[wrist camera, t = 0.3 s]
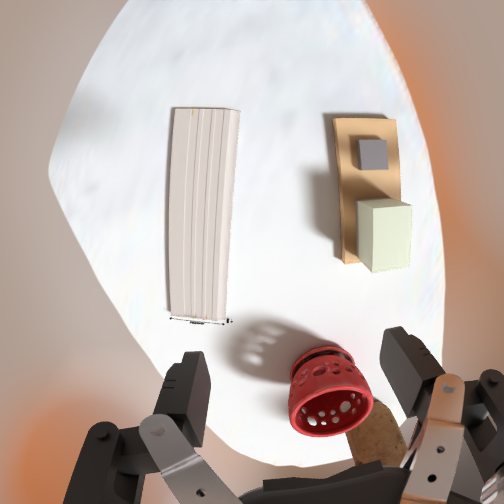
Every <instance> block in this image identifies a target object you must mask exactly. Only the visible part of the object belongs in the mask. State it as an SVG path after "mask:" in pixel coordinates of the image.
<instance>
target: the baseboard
mask: <svg viewBox="0 0 504 504" xmlns="http://www.w3.org/2000/svg"><path fill="white" fill-rule="evenodd" d="M240 112H241V111H235V110H227V109H175V115H174V125H173V137H172V151H171V167H170V189H169V284H170V306H171V316H177V317H188V318H194V319H195V318H197V319H203V320H205V319H206V320H213V321H218V320H221V319H224V320H225V319H227V318H226V300H227V282H228V266H229V250H230V235H231V220H232V207H233V193H234V181H235V168H236V156H237V145H238V134H239V123H240ZM170 319H173V318H172V317H171V318H170ZM178 320H181V319H178ZM186 321H189V320H186ZM230 322H232V321H230ZM190 323H191V321H190ZM196 323H197V324H201V323H199V322H198V321H195V323H194V322H192V324H196ZM204 323H208V322H204ZM204 323H203V324H204ZM227 323H229V319H227ZM214 324H218V323H214ZM223 325H225V324H224V323H223Z"/></svg>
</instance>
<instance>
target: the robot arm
mask: <svg viewBox="0 0 504 504" xmlns="http://www.w3.org/2000/svg"><path fill="white" fill-rule="evenodd" d="M380 365H381V368H382V370H383V372H384V374H385V376H386V377H387V379H388V381H389V383H390V385H391V387H392V389H393V391H394V393H395V395H396V397H397V399H398V401H399V403H400V405H401V407H402V409H403V411H404V413H405V415H406V417H407V418H411V417H414V416H417V418H418V421H417V423H416V426H415V429H414V432H413V435H412V438H411V441H410V444H409V447H408V449H407V452H406V454H405V457H404V459H403V461H402V463H401V465H400V467H396V466H382V463H381V461H380V460H376V461H373V462H369V463H366V464H362V465H358V466H354V467H351V468H349V469H347V470H345V471H343V472H340V473H338V474H336V475H334V476H331V477H329V478H326V479H311V478H296V477H291V478H281V479H269V480H263V487H259V488H256V489H253V490H251V491H249V492H246V493H244V494H243V495H241V496H240V497H238V498H237V497H236V496H235V494H233V492H231V490H230V489H229V488H228V487H227V486H226V485H225V484H224V483H223V481H222V480H221V479H220V478H219V477H218V476H217V475H216V473H215V472H214V471H213V470H212V469H211V467H210V466H209V465H208V464H207V463H206V461H205V460H204V459H203V458H202V457H201V456H200V455H198V454H197V453H196V452H195V450H194V447H202V444H203V436H204V430H205V423H206V417H207V410H208V403H209V397H210V390H211V380H210V375H209V372H208V368H207V364H206V361H205V357H204V354H203V352H202V351H195V352H185V353H184V356H183V359H182V362H181V363H174V364H173V365H172V366H171V368H170V369H169V370H168V371H167V373H166V376H165V379H164V380H165V381H164V382H163V385H162V389H161V391H160V394H159V397H158V400H157V403H156V406H155V409H154V412H153V415H151V416H149V417H147V418H145V419H144V420H143V421H142V422H141V424H140V426H137V427H132V428H125V429H118V428H117V426H116V425H115V424H113V423H111V422H100V423H97V424H95V425H94V426H92V427H91V428H90V430H89V431H88V434H87V437H86V439H85V441H84V444H83V447H82V449H81V452H80V454H79V457H78V460H77V463H76V465H75V468H74V471H73V474H72V477H71V480H70V483H69V486H68V489H67V492H66V495H65V498H64V501H63V504H140V502H141V496H142V490H143V485H144V479H145V474H149V473H156V472H161V475H162V477H163V479H164V480H165V482H166V483H167V485H168V487H169V488H170V490H171V491H172V493H173V494H174V496H175V497H176V499H177V500H178V501H179V503H180V504H504V375H503V374H502V373H501V372H499V371H497V370H493V369H489V370H486V371H484V372H483V373H482V374H481V376H480V378H479V380H474V381H465V382H463V380H462V379H461V378H460V377H459V376H457V375H454V374H446V373H445V371H444V370H443V368H442V367H441V366H440V364H439V363H438V362H437V360H436V359H435V358H434V356H433V355H432V354H430V351H429V350H428V349H427V348H426V346H425V345H424V343H423V342H422V341H421V340H420V339H419V338H417V337H415V336H414V335H412V334H411V335H408V334H407V332H406V331H405V330H404V329H403V327H401V326H398V327H394V328H389V329H386V330H385V331H384V334H383V340H382V346H381V351H380ZM489 413H490V415H491V417H492V418H493V420H494V422H495V423H496V425H497V432H496V430H495V428H494V426H493V425H492V423H491V421H490V419H489V418H488V414H489ZM463 437H464V439H465V441H466V443H467V445H468V447H469V449H470V451H471V453H472V456H473V458H474V460H475V462H476V465H477V467H478V469H479V472H480V474H481V476H482V479H483V481H484V486H483V489H482V496H481V497H480V501H481V503H480V502H477V501H474V500H472V499H470V498H467V497H465V496H462V495H460V494H458V493H455V492H453V491H451V490H450V489H451V485H452V482H453V478H454V475H455V471H456V467H457V463H458V459H459V454H460V450H461V444H462V440H463Z"/></svg>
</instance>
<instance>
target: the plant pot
mask: <svg viewBox="0 0 504 504" xmlns="http://www.w3.org/2000/svg"><path fill="white" fill-rule="evenodd" d="M290 379H291V386H290V395H289V401H288V406H289V419H290V424H291V426H292V427H293V428H294V429H295V430H296V431H297V432H299V433H301V434H303V435H306V436H310V437H329V436H334V435H338V434H341V433H344V432H347V431H349V430H351V429H353V428H354V427H356V426H357V425H359V424H360V423H361V422H362V421H363V420H364V419H365V418H366V417H367V416H368V415H369V414H370V412H371V410H372V407H373V396H372V393H371V390H370V388H369V386H368V384H367V382H366V380H365V378H364V376H363V375H362V373H361V372H360V371H359V369H358V368H357V367H356V366H355V363H354V360H353V358H352V356H351V355H350V354H349V353H348V352H347V351H345V350H344V349H341V348H338V347H329V346H328V347H320V348H316V349H313V350H311V351H309V352H307V353H305V354H304V355H302V356H301V357H300V358H299V359H298V360H297V361H296V362H295V363H294V365H293V367H292V369H291V373H290ZM353 394H355V398H354V399H353ZM365 397H366V400H365ZM359 400H360V404H359ZM345 402H350V404H351V408H350V409H349V410H348V411H347V412H342V411H341V406H342V405H343V404H344V403H345ZM302 408H303V409H304V410H305V412H306V413H305V414H304V413H303V412H302V410H301V409H302ZM354 409H356V413H355V414H353V411H354ZM332 411H335V412H336V413H335V414H334V415H331V414H330V413H331V412H332ZM319 412H324V413H325V416H324V417H320V416H319V414H318V413H319ZM299 416H300V417H299ZM308 417H311V418H314V419H315V420H316V422H317V425H316V426H312V425H310V424H309V422H308V420H307V418H308ZM334 418H339V419H340V420H339V422H337V423H334V422H333V419H334ZM323 421H324V422H326V425H322V424H321V422H323Z"/></svg>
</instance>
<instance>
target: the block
mask: <svg viewBox="0 0 504 504" xmlns="http://www.w3.org/2000/svg"><path fill="white" fill-rule="evenodd" d="M355 413H356V409H354V411H353V414H355ZM345 433H346V436H347V440H348V443H349V446H350V450H351V453H352V456H353V459H354V462H355V465H356V466H358V465H362V464H366V463H369V462H373V461H376V460H380V461H381V463H382V466H396V467H400V465H401V463H402V461H403V459H404V457H405V454H406V452H407V449H408V448H407V446H406V443H405V441H404V439H403V436H402V433H401V431H400V429H399V427H398V424H397V422H396V420H395V418H394V416H393V414H392V413H391V411H390V409H389V408H388V407H387V406H386V405H384V404H383V403H382V402H380V401H376V402H373V407H372V410H371V412H370V414H369V415H368V416H367V417H366V418H365V419H364V420H363V421H362V422H361V423H360V424H359V425H357V426H356V427H354V428H353V429H351V430H349V431H347V432H345Z"/></svg>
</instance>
